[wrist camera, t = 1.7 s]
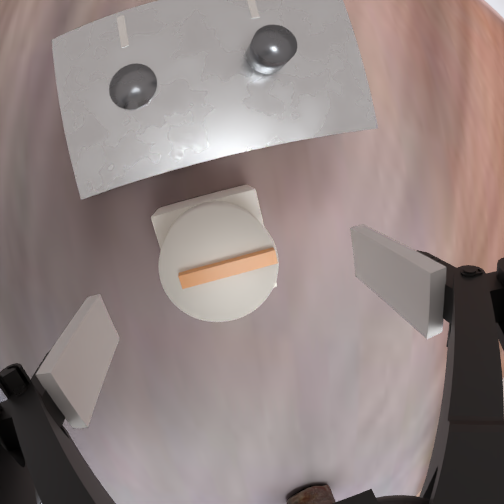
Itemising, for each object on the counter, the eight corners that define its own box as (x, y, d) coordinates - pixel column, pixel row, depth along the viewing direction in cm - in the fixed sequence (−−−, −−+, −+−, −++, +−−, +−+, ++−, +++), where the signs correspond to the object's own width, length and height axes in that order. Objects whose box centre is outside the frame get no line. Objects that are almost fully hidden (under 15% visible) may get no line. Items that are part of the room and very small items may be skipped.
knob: (183, 289, 26) (179, 338, 18) (158, 207, 23) (140, 229, 16) (266, 267, 26) (290, 308, 19) (246, 184, 24) (266, 195, 17)
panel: (86, 197, 22) (66, 205, 18) (57, 44, 18) (36, 28, 14) (370, 128, 24) (398, 126, 20) (331, -12, 20) (350, -33, 16)
